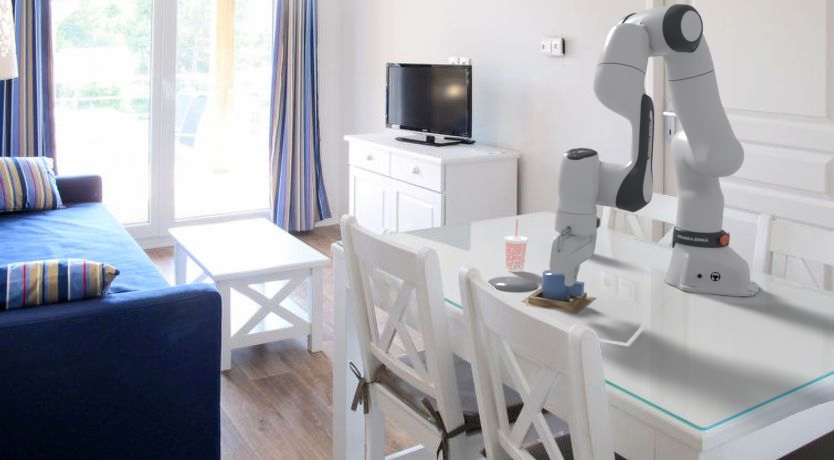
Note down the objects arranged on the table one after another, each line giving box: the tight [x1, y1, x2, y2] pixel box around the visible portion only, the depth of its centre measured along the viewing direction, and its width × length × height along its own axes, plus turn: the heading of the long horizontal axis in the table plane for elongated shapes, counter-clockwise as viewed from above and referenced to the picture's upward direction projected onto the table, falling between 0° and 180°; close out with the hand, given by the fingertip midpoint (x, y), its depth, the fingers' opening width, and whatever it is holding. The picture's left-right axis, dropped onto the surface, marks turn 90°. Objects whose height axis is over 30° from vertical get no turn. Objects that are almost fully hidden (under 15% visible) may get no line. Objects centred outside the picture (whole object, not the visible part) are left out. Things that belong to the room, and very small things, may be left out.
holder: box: [520, 287, 597, 315], centre depth 205 cm, size 14×14×2 cm
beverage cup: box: [504, 218, 529, 273], centre depth 230 cm, size 6×6×14 cm
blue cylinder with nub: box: [541, 269, 585, 302], centre depth 203 cm, size 10×6×6 cm
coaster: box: [487, 276, 538, 293], centre depth 217 cm, size 12×12×1 cm
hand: (570, 284), depth 196 cm, fingers closed
